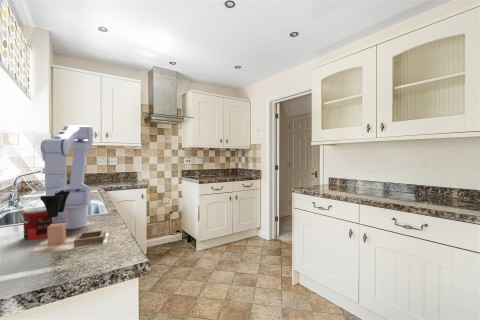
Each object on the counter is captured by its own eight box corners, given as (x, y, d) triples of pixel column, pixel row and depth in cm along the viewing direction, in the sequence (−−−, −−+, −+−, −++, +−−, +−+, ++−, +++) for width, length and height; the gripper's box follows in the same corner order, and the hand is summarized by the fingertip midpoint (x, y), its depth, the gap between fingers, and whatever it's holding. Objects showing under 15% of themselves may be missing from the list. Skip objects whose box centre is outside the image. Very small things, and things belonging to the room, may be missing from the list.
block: (51, 241, 78) (51, 224, 78) (66, 239, 80) (65, 222, 80) (47, 245, 74) (47, 227, 74) (62, 243, 76) (62, 225, 76)
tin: (74, 219, 108) (73, 202, 108) (76, 221, 106) (75, 203, 106) (31, 227, 97) (31, 208, 96) (33, 229, 95) (32, 209, 94)
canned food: (30, 236, 86) (29, 207, 85) (56, 234, 88) (55, 205, 88) (19, 244, 78) (18, 212, 78) (47, 241, 81) (46, 210, 81)
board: (43, 243, 79) (43, 234, 79) (109, 234, 88) (109, 226, 88) (27, 259, 67) (26, 249, 67) (106, 247, 75) (105, 238, 75)
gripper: (47, 173, 81) (48, 211, 81) (32, 176, 68) (33, 221, 68) (71, 172, 85) (72, 209, 85) (61, 175, 72) (62, 218, 72)
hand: (56, 214), depth 77 cm, fingers open, 7 cm apart
